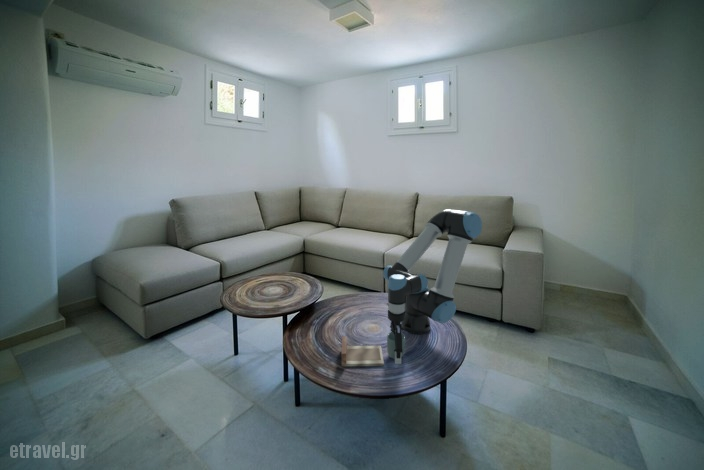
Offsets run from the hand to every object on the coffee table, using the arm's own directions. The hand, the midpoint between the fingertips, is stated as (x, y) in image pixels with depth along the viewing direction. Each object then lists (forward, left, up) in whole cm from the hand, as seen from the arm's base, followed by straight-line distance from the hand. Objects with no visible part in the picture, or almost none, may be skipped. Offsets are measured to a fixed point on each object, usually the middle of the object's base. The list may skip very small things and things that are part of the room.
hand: (395, 353), depth 135 cm
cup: (0, 0, -2) cm, 2 cm away
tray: (+15, 0, -1) cm, 15 cm away
